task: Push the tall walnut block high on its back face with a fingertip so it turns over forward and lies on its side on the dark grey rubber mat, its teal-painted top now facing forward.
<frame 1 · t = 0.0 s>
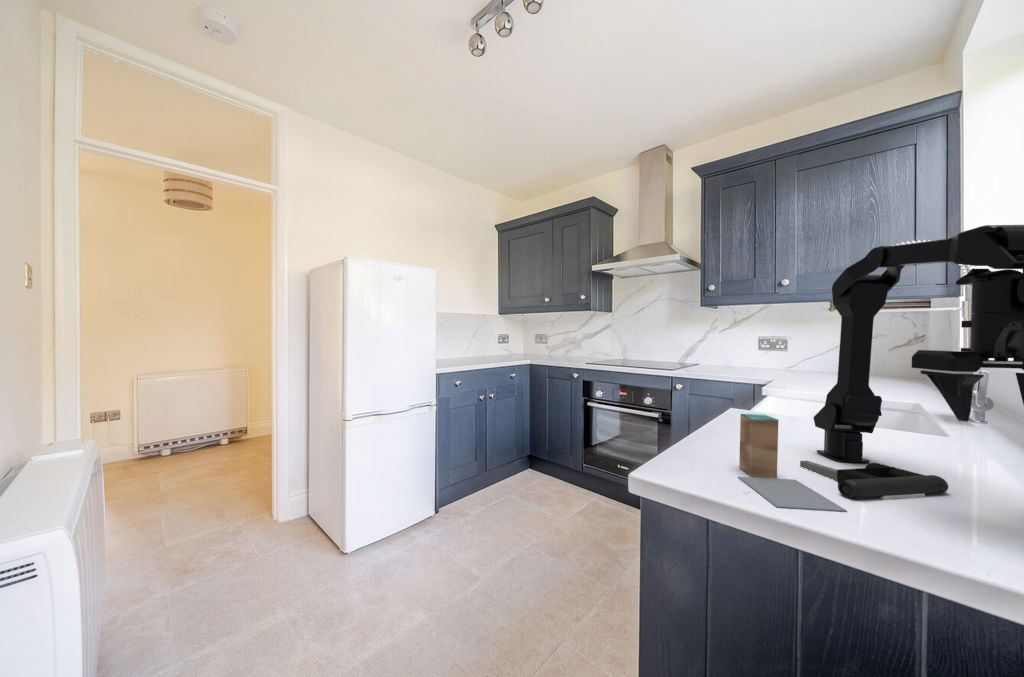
hand: (998, 422, 53), 15 cm above the worktop, tool pointing down, fingers open, 9 cm apart
door handle: (859, 485, 68), on the worktop
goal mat: (786, 492, 63), on the worktop
walnut block: (757, 473, 72), on the worktop
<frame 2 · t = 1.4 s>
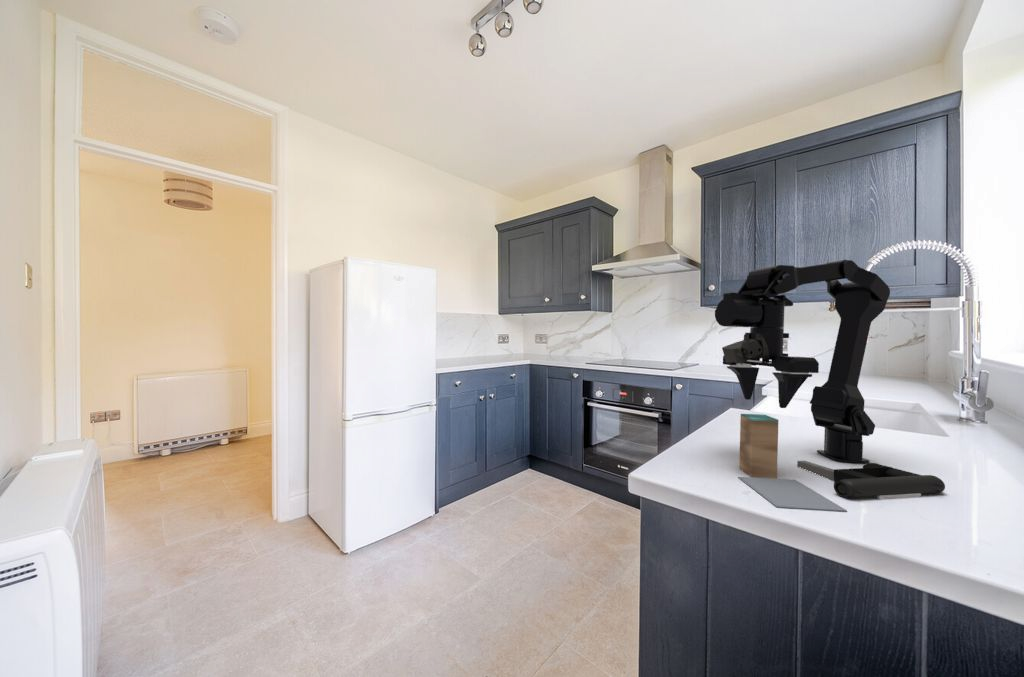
hand: (764, 403, 77), 13 cm above the worktop, tool pointing down, fingers open, 9 cm apart
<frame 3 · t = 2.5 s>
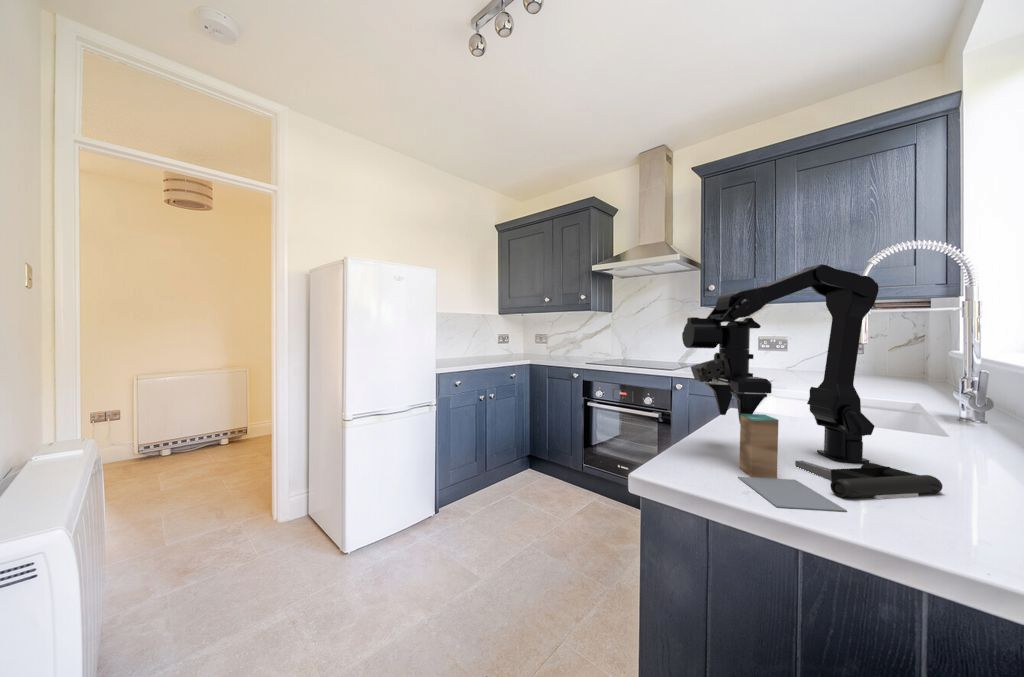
hand: (732, 419, 82), 8 cm above the worktop, tool pointing down, fingers open, 9 cm apart
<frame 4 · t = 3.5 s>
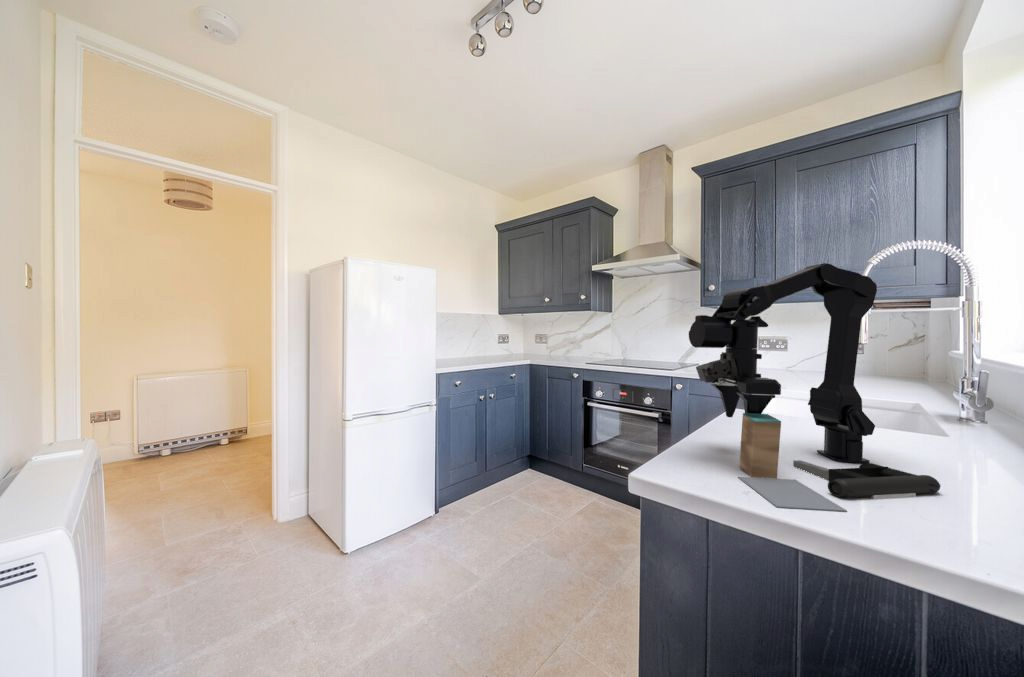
hand: (739, 421, 79), 8 cm above the worktop, tool pointing down, fingers open, 8 cm apart
walnut block: (757, 472, 72), on the worktop, touching gripper
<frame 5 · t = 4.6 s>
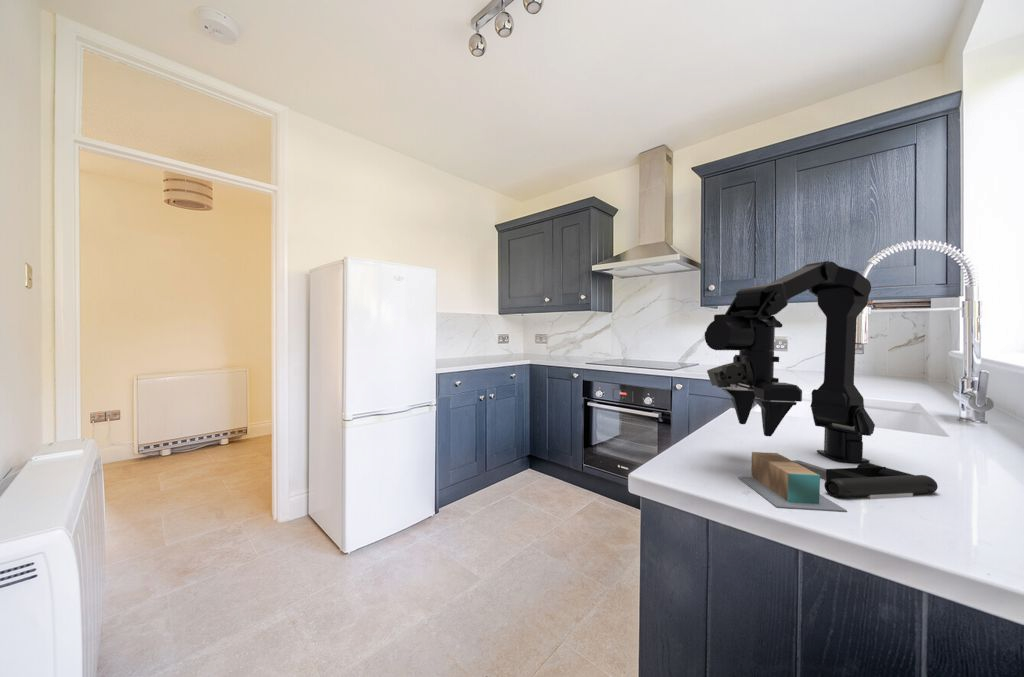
hand: (754, 429, 73), 8 cm above the worktop, tool pointing down, fingers open, 9 cm apart
walnut block: (764, 464, 69), point 2 cm above the worktop, tilted 90°, touching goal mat
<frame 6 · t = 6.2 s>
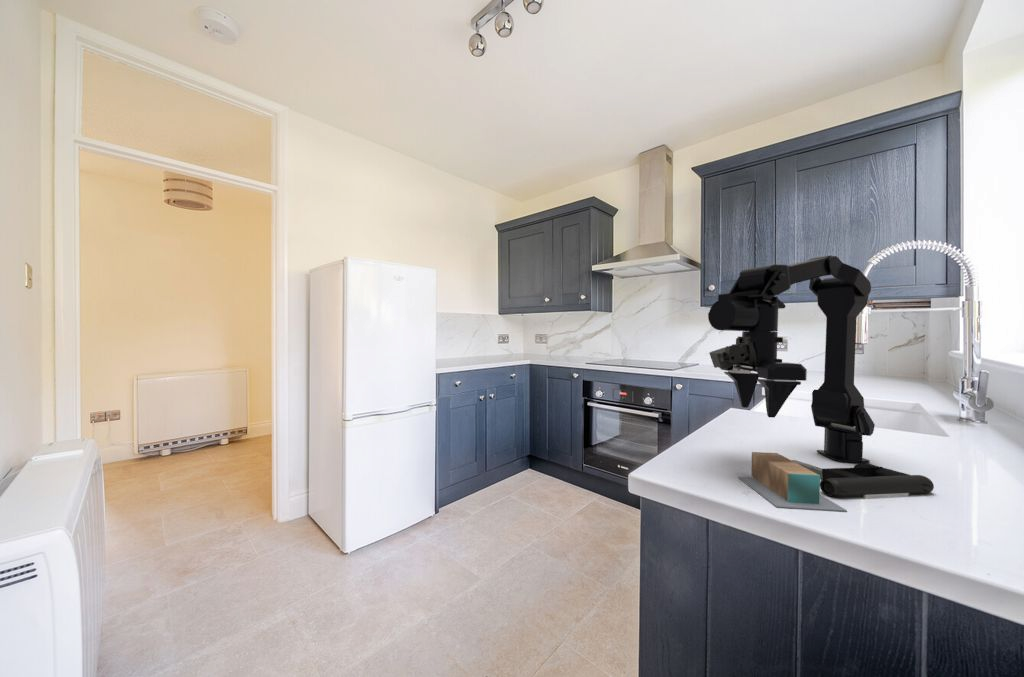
hand: (757, 412, 72), 12 cm above the worktop, tool pointing down, fingers open, 9 cm apart
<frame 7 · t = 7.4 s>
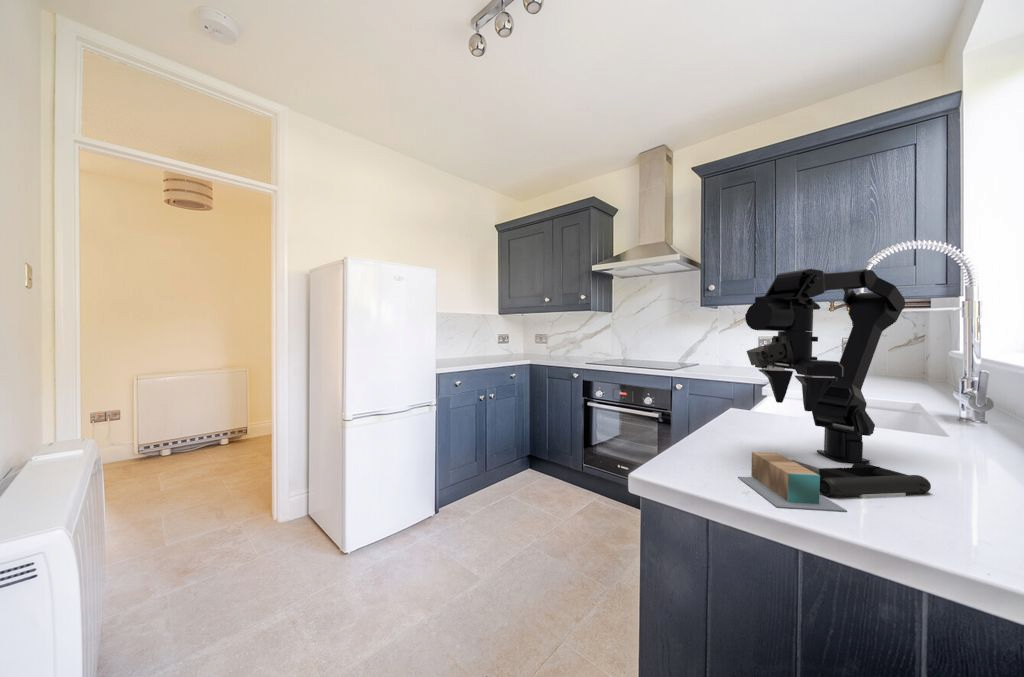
hand: (792, 406, 77), 12 cm above the worktop, tool pointing down, fingers open, 9 cm apart
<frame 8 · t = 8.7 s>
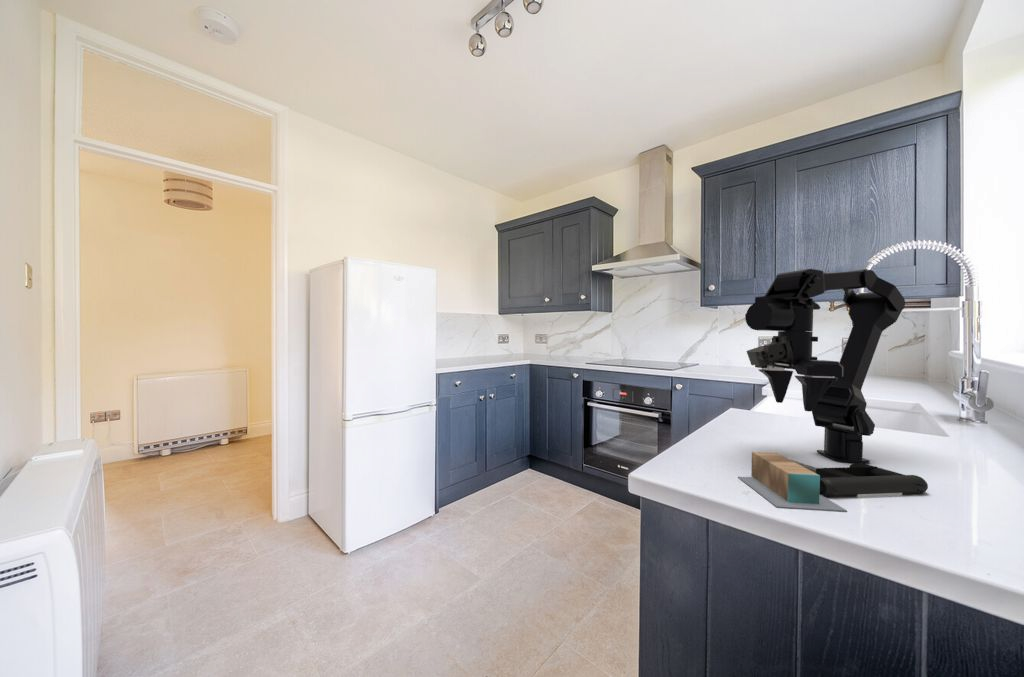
hand: (792, 406, 77), 12 cm above the worktop, tool pointing down, fingers open, 9 cm apart
at the end: walnut block tilted 90°; walnut block inside the target area (3.6 cm from its centre), point 2.4 cm above the worktop; the gripper is holding nothing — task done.
